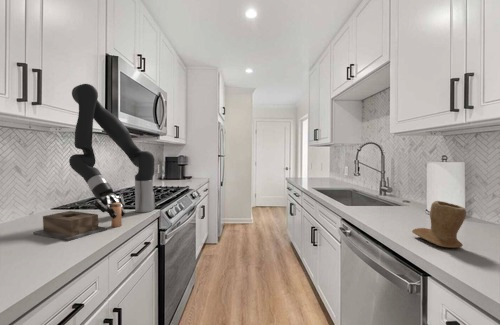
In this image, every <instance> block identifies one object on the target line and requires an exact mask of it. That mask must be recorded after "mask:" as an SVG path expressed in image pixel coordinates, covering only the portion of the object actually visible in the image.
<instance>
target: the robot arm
mask: <svg viewBox="0 0 500 325" xmlns="http://www.w3.org/2000/svg"><path fill="white" fill-rule="evenodd" d="M71 96H72V99H73V100H74V102H76V103H77V104H78V114H77V115H78V116H77V121H76V125H75V130H74V148H76V149H79V150H80V151H82V153H81V154H80V153H76V154H72V155H70V157H69V159H68V163H69V166H70V167H71V169H72V170H73V172H76V173H77V174H78V175H79V176H80V177H82V178H83V180H84V181H85V182H86V184H87V186H88V188H89V190H90V191H91V193H92V194H93V197H95V200H94V202H93V206H95V207H96V208H97V209H98V210H99V211H100V212H101V213H108V214H109V216H110V218H111V217H112V218H113V219H114V218H116V216H117V215H116V213H115V212H114V210H113V209H112V207H111V204H112V203H121V217H124V216H125V215H126V212H127V211H126V210H125V209H124V207H125V205H126V202H125V200H124V197H123V195H122V194H121V195H116V193H114V189H113V188H112V187H111V185H110V184H109V182H108V181H107V179H106V178H105V177H104V176H103V174H102V173H101V171H100V170H99V169H98V168H96V167H94V166H95V164H96V156H95V153H94V148H93V131H94V130H93V128H94V121H95V123H96V124H98V125H99V127H100V128H101V129H102V130H103V131H104V132H105V133H106V135H107V136H108V137H109V138H110V139H111V140H112V141H113V142H114V143H115V144H116V145H117V146H118V148H120V149H121V150H122V151H123V153H125V155H126V156H127V157H128V159H129V161H130V162H131V163H132V164H133V166H135V167H137V168H138V169H137V170H138V171H137V173H136V174H135V175H134V191H135V193H134V194H135V196H134V198H135V205H134V206H135V207H134V208H135V213H149V212H152V211H154V210H155V209H156V207H155V192H154V184H153V181H154V180H153V178H154V175H155V156H154V154H153V152H150V151H146V150H143V151H142V150H141V149H140V148H139V147H138V146H137V145H136V144H135V142H134V141H133V138H132V135H131V133H130V131H129V130H128V128H127V127H126V125H125V124H123V122H122V121H121V120H120V119H119V118H118V117H117V116H115V114H113V113H112V112H110V110H108V109H106V108H105V106H103V105H102V104H101V103H100V101H99V100H98V97H99V93H98V90H97V89H96V87H95V86H93V85H92V84H89V83H82V84H81V83H80V84H79V85H76V86H74V87H73V89H72V90H71Z"/></svg>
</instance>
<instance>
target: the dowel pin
mask: <svg viewBox="0 0 500 325" xmlns="http://www.w3.org/2000/svg"><path fill="white" fill-rule="evenodd" d="M111 207H112V209H113V210H114V212H115V213H116V215H117V216H116V218H114V219H113V218H112V217H111V216H110V218H111V227H112V228H118V227H121V226H122V225H123V224H122V222H123V219H122V217H123V216H121V203H116V202H115V203H112V204H111Z"/></svg>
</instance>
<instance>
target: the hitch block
mask: <svg viewBox="0 0 500 325" xmlns="http://www.w3.org/2000/svg"><path fill="white" fill-rule="evenodd" d="M107 230H108V227H104V226H99V214H97V213H89V212H82V211H75V210H68V211H67V210H66V211H63V212H58V213H53V214H47V215H43V216H42V229H41V230H36V231H33V235H38V236H41V237H46V238H51V239H57V240H61V241H65V242H70V241H71V242H72V241H74V240H77V239H80V238H83V237H84V238H85V237H87V236H91V235H93V234H96V233H97V234H98V233H101V232H104V231H107Z"/></svg>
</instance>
